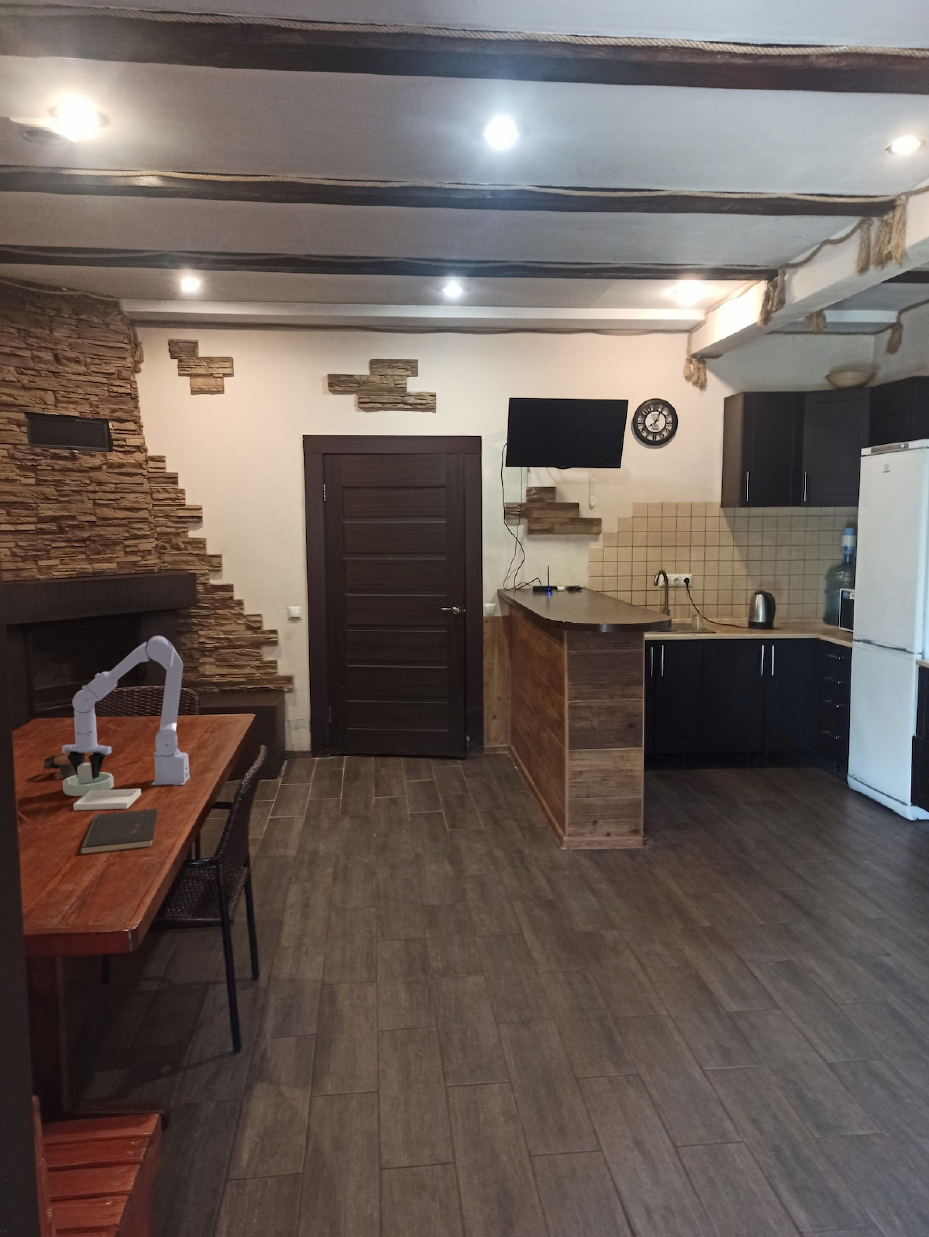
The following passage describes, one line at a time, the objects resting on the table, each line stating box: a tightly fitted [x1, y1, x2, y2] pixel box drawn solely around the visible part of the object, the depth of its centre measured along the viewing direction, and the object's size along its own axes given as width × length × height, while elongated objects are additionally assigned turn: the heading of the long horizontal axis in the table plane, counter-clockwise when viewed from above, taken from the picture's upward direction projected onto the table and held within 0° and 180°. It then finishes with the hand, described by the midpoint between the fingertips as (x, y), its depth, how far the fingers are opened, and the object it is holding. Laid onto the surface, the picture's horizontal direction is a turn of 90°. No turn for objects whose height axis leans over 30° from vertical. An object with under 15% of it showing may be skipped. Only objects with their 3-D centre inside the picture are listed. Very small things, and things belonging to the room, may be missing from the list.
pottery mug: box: [42, 752, 87, 781], centre depth 253 cm, size 12×10×8 cm
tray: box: [73, 788, 142, 811], centre depth 225 cm, size 14×12×2 cm
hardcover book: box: [79, 808, 160, 855], centre depth 203 cm, size 16×23×2 cm
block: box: [77, 762, 98, 782], centre depth 236 cm, size 4×4×5 cm
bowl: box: [62, 771, 115, 797], centre depth 237 cm, size 13×13×4 cm
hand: (88, 777), depth 236 cm, fingers closed on block, 4 cm apart
